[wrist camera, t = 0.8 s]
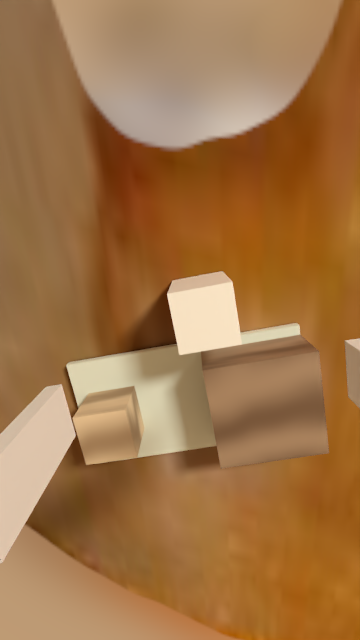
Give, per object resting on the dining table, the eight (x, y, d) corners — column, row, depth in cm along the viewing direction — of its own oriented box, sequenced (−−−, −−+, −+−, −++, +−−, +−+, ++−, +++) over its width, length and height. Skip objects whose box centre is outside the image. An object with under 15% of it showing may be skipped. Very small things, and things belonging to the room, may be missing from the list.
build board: (68, 362, 36) (66, 365, 35) (296, 322, 34) (299, 324, 33) (96, 459, 38) (94, 464, 38) (308, 427, 37) (311, 431, 36)
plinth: (200, 351, 34) (202, 370, 29) (300, 334, 33) (318, 351, 28) (216, 437, 36) (220, 468, 31) (310, 423, 36) (329, 453, 31)
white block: (172, 280, 33) (166, 293, 25) (222, 271, 33) (232, 281, 25) (181, 328, 34) (179, 355, 27) (230, 319, 34) (242, 344, 26)
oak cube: (88, 393, 36) (72, 418, 31) (134, 385, 35) (125, 409, 30) (100, 434, 37) (86, 464, 32) (144, 427, 36) (137, 457, 31)
